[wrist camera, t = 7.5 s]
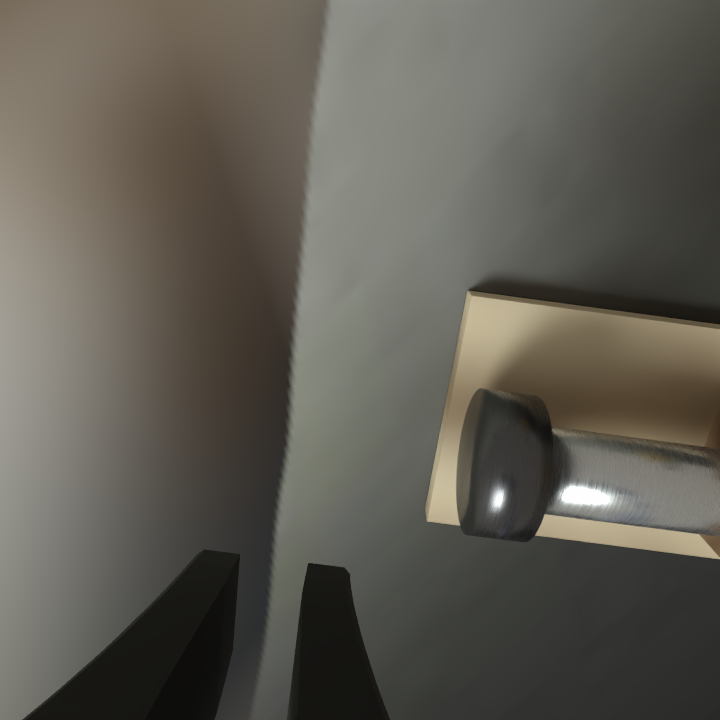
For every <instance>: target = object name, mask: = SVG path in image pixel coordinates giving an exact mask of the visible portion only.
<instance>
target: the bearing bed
mask: <svg viewBox="0 0 720 720" xmlns="http://www.w3.org/2000/svg"><path fill="white" fill-rule="evenodd" d="M480 388H484V389H491V390H499V391H506V392H514V393H521V394H529V395H536V396H538V397H540V398H541V399H542V400H543V402H544V403H545V405H546V408H547V410H548V413H549V416H550V421H551V426H552V427H559V428H567V429H574V430H582V431H589V432H597V433H605V434H612V435H620V436H627V437H635V438H642V439H650V440H658V441H665V442H673V443H680V444H688V445H695V446H703V447H711V448H718V449H720V325H719V324H712V323H704V322H697V321H690V320H682V319H675V318H668V317H660V316H653V315H645V314H638V313H631V312H623V311H616V310H608V309H601V308H594V307H586V306H579V305H571V304H564V303H557V302H549V301H542V300H534V299H527V298H520V297H512V296H505V295H498V294H490V293H483V292H475V291H468V292H467V297H466V302H465V307H464V312H463V317H462V322H461V327H460V333H459V338H458V343H457V348H456V353H455V358H454V363H453V368H452V374H451V379H450V384H449V389H448V394H447V399H446V404H445V410H444V415H443V420H442V425H441V430H440V435H439V440H438V445H437V451H436V456H435V461H434V466H433V471H432V476H431V481H430V486H429V492H428V497H427V502H426V507H425V510H426V517H427V521H429V522H437V523H445V524H452V525H460V523H459V518H458V512H457V502H456V473H457V460H458V451H459V443H460V437H461V432H462V427H463V423H464V419H465V415H466V412H467V408H468V406H469V403H470V401H471V398H472V396H473V395H474V393H475V392H476V391H477V390H478V389H480ZM535 535H537V536H545V537H553V538H561V539H568V540H576V541H584V542H592V543H599V544H607V545H615V546H622V547H630V548H638V549H646V550H653V551H661V552H669V553H677V554H684V555H692V556H700V557H708V558H715V559H720V537H716V536H708V535H701V534H693V533H685V532H678V531H670V530H662V529H655V528H647V527H639V526H631V525H624V524H616V523H608V522H601V521H593V520H585V519H577V518H570V517H562V516H554V515H547V514H545V515H544V518H543V520H542V523H541V525H540V527H539V529H538V531H537V533H536V534H535Z"/></svg>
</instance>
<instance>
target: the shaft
mask: <svg viewBox="0 0 720 720" xmlns="http://www.w3.org/2000/svg"><path fill="white" fill-rule="evenodd" d="M456 502H457V512H458V518H459V523H460V526H461V529H462V531H463V532H464V534H466V535H471V536H479V537H486V538H494V539H502V540H510V541H517V542H528V541H529V540H531V539H532V538H533V537H534V536H535V534H536V533H537V531H538V529H539V527H540V525H541V523H542V520H543V518H544V515H545V514H547V515H554V516H562V517H570V518H577V519H585V520H593V521H601V522H608V523H616V524H624V525H631V526H639V527H647V528H655V529H662V530H670V531H678V532H685V533H693V534H701V535H708V536H716V537H720V449H718V448H711V447H703V446H695V445H688V444H680V443H673V442H665V441H658V440H650V439H642V438H635V437H627V436H620V435H612V434H605V433H597V432H589V431H582V430H574V429H567V428H559V427H552V426H551V421H550V416H549V413H548V410H547V408H546V405H545V403H544V402H543V400H542V399H541V398H540V397H538V396H536V395H529V394H521V393H514V392H506V391H499V390H491V389H484V388H480V389H478V390H477V391H476V392H475V393H474V395H473V396H472V398H471V401H470V403H469V406H468V408H467V412H466V415H465V419H464V423H463V427H462V432H461V437H460V443H459V451H458V460H457V473H456Z"/></svg>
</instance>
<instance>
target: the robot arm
mask: <svg viewBox="0 0 720 720" xmlns="http://www.w3.org/2000/svg"><path fill="white" fill-rule="evenodd" d="M239 560H240V554H234V553H226V552H219V551H211V550H203V551H201V552H200V553H199V554H197V555H196V556H195V557H194V558H193V560H192V561H191V562H190V563H189V564H188V565H187V567H185V569H184V570H183V571H182V572H181V573H180V574H179V575H178V576H177V577H176V578H175V579H174V581H173V582H172V583H171V584H170V585H169V586H168V587H167V588H166V589H165V590H164V591H163V592H162V593H161V594H160V595H159V596H158V597H157V598H156V599H155V601H153V602H152V604H151V605H150V606H149V607H148V608H147V609H146V610H145V611H144V612H143V613H141V615H139V616H138V618H136V619H135V620H134V621H133V622H132V623H131V624H130V625H129V626H128V627H127V628H126V629H125V630H124V631H123V632H122V633H121V634H120V635H119V636H118V637H117V638H116V639H115V640H114V641H113V642H112V643H111V644H109V645H108V646H107V647H106V648H105V649H104V650H103V651H102V652H101V653H100V654H99V655H97V656H96V657H95V658H94V659H93V660H92V661H91V662H90V663H88V664H87V665H86V666H85V667H84V668H83V669H82V670H81V671H79V672H78V673H77V674H76V675H75V676H74V677H73V678H72V679H70V680H69V681H68V682H67V683H66V684H65V685H64V686H62V687H61V688H60V689H59V690H58V691H57V692H55V693H54V694H53V695H52V696H51V697H49V698H48V699H47V700H46V701H45V702H43V703H42V704H41V705H40V706H39V707H37V708H36V709H35V710H34V711H33V712H31V713H30V714H29V715H28V716H26V717H25V718H24V719H23V720H214V719H215V716H216V713H217V710H218V706H219V702H220V698H221V694H222V691H223V687H224V683H225V679H226V675H227V671H228V666H229V663H230V658H231V655H232V651H233V641H234V627H235V614H236V600H237V587H238V586H237V585H238V574H239ZM287 720H390V719H389V716H388V713H387V711H386V708H385V706H384V703H383V700H382V698H381V695H380V692H379V689H378V686H377V684H376V681H375V677H374V674H373V671H372V668H371V665H370V662H369V659H368V656H367V653H366V650H365V646H364V643H363V639H362V636H361V632H360V628H359V624H358V620H357V616H356V612H355V607H354V603H353V597H352V591H351V584H350V574H349V573H348V571H347V570H346V569H345V568H344V567H336V566H328V565H321V564H313V563H308V567H307V572H306V576H305V581H304V587H303V592H302V599H301V607H300V616H299V624H298V632H297V641H296V649H295V657H294V666H293V674H292V682H291V691H290V699H289V707H288V716H287Z"/></svg>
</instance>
